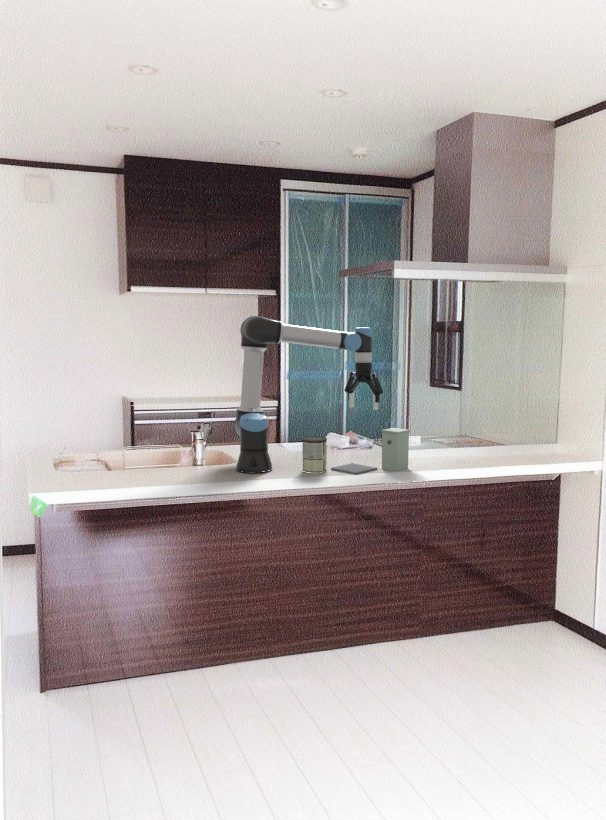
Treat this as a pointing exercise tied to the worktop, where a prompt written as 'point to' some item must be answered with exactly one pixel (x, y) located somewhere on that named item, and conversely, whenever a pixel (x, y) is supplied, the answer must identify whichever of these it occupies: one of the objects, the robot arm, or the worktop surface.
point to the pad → (354, 468)
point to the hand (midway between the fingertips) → (363, 408)
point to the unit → (395, 449)
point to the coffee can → (314, 454)
